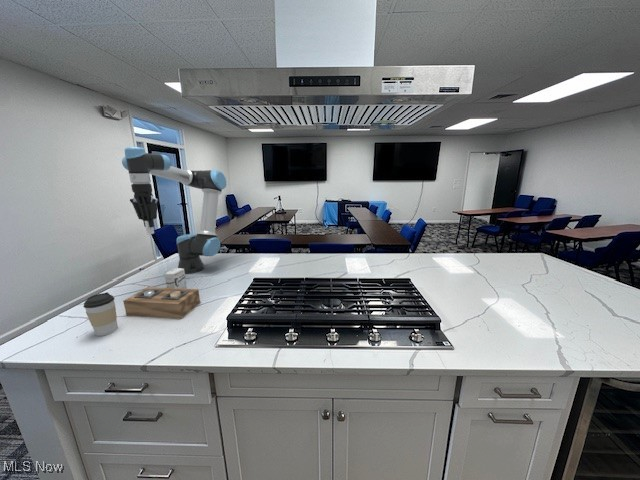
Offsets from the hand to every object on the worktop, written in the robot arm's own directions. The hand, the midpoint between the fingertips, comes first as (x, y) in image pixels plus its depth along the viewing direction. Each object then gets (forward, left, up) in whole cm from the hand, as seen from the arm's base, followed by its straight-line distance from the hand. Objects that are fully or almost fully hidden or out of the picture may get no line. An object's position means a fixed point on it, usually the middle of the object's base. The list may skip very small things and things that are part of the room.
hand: (150, 233), depth 119 cm
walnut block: (+12, +11, -32) cm, 36 cm away
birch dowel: (+12, +17, -32) cm, 38 cm away
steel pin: (+12, +4, -32) cm, 34 cm away
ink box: (-5, +5, -33) cm, 33 cm away
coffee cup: (+30, 0, -33) cm, 44 cm away
